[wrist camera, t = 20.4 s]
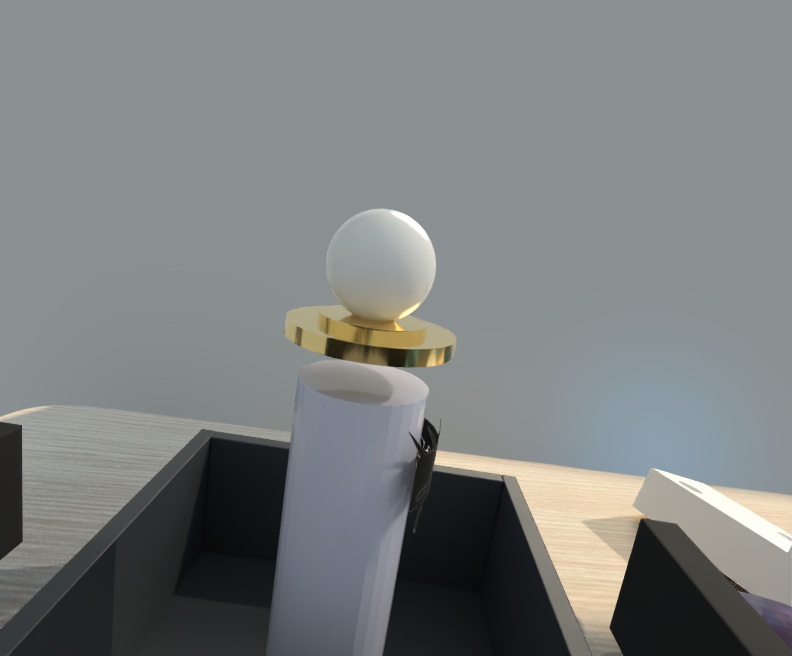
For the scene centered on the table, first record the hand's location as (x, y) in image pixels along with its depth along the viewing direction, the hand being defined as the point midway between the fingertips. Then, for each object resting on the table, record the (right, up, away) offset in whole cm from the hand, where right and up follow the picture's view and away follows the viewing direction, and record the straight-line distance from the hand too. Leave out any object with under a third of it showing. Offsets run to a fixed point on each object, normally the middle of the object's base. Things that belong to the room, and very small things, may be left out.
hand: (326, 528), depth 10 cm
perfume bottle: (-2, -11, +10) cm, 15 cm away
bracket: (+27, -13, +26) cm, 40 cm away
